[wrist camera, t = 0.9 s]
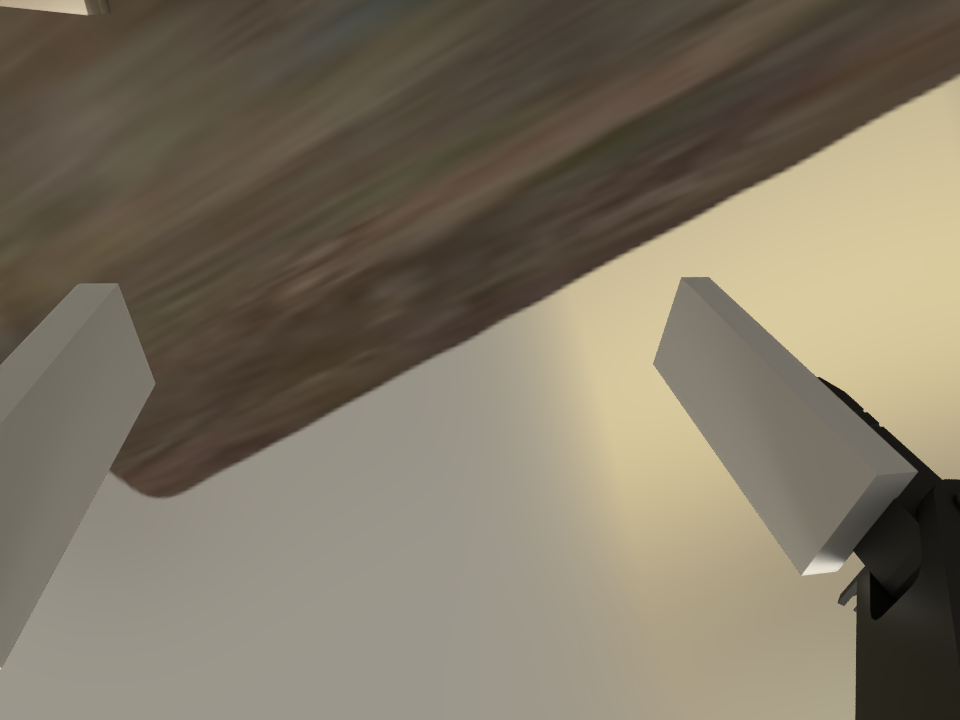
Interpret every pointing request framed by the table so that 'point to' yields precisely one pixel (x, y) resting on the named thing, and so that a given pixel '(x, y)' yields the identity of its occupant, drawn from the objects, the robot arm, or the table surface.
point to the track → (61, 6)
